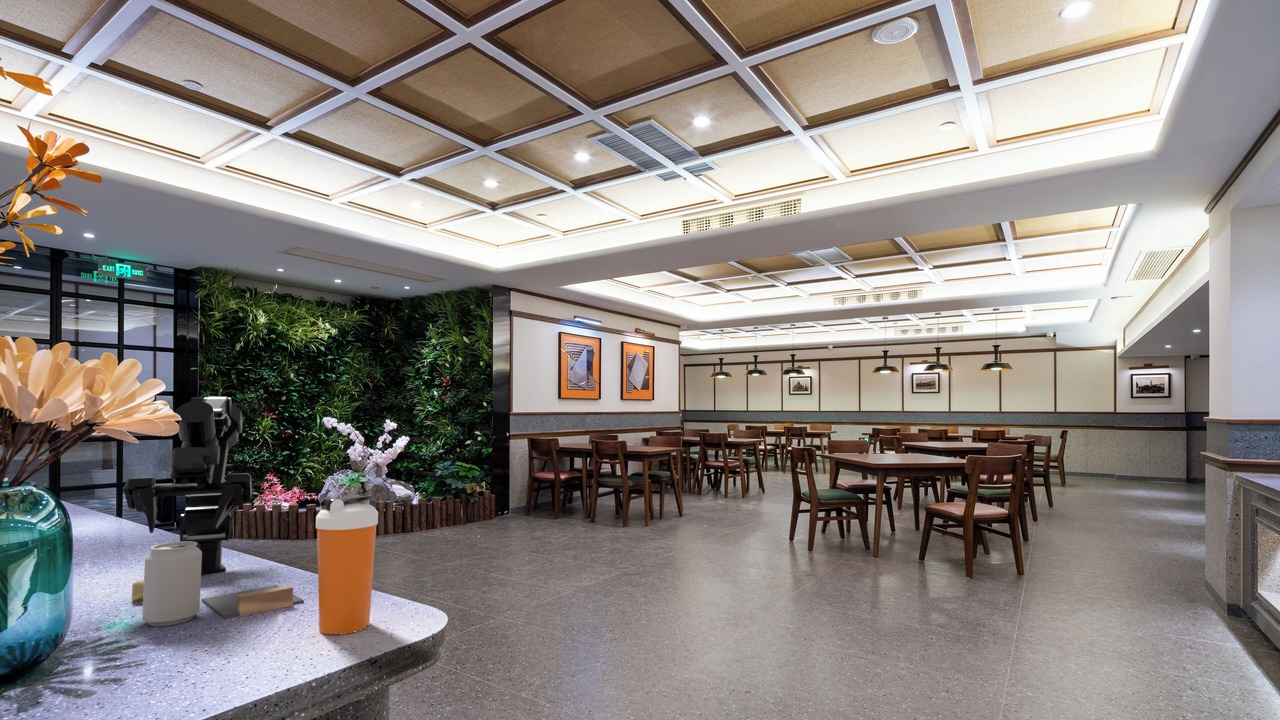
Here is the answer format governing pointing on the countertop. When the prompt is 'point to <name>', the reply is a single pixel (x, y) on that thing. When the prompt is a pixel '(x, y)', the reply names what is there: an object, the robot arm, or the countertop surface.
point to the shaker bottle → (345, 562)
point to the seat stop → (264, 600)
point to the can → (172, 583)
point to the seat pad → (234, 602)
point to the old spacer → (138, 591)
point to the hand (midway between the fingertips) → (183, 529)
